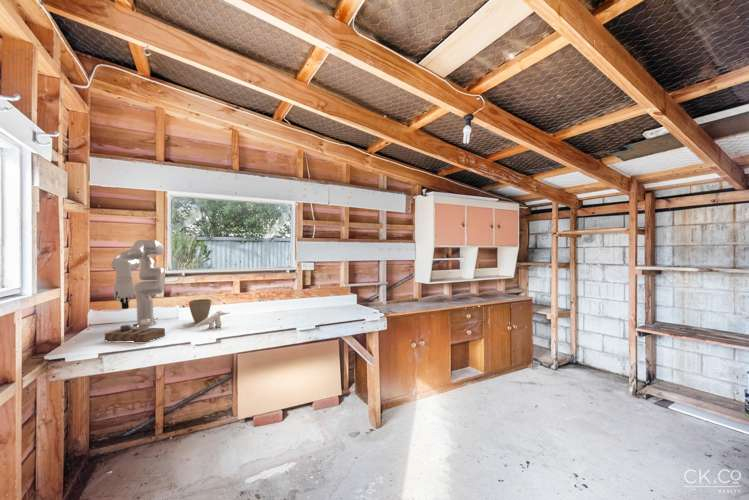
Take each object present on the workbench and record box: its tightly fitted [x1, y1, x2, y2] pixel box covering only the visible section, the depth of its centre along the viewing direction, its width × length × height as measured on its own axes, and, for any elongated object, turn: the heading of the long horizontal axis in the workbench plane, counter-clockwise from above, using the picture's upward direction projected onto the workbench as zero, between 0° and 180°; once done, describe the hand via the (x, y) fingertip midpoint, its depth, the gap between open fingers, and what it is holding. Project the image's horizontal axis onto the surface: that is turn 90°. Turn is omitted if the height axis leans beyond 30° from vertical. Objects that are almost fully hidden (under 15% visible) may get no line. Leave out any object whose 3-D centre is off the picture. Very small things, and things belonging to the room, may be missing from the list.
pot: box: [131, 323, 139, 331], centre depth 194 cm, size 3×3×4 cm
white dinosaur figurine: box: [193, 309, 231, 329], centre depth 218 cm, size 7×24×11 cm, turn 130°
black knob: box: [120, 324, 131, 332], centre depth 195 cm, size 5×5×8 cm
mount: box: [104, 326, 166, 343], centre depth 194 cm, size 28×14×5 cm, turn 83°
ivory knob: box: [140, 319, 150, 332], centre depth 193 cm, size 5×5×8 cm
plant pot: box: [188, 298, 212, 324], centre depth 234 cm, size 15×15×16 cm
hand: (125, 308), depth 195 cm, fingers closed
